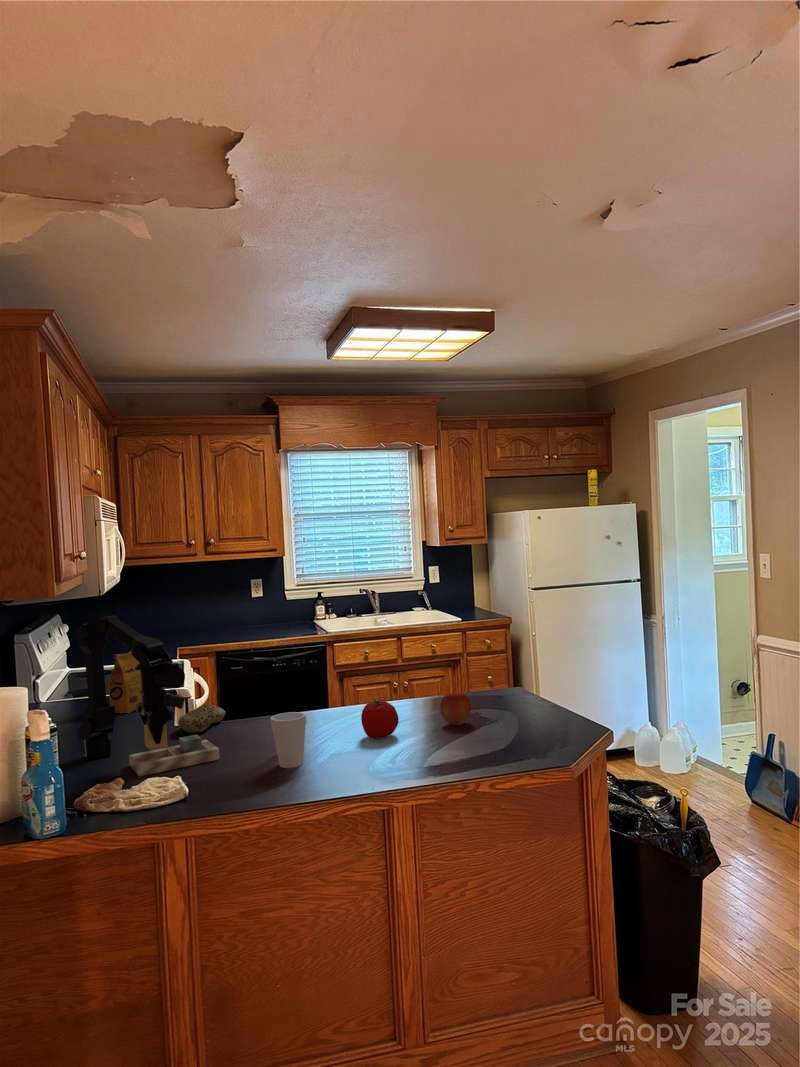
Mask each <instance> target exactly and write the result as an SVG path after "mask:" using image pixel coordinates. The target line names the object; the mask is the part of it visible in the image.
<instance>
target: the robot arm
mask: <svg viewBox="0 0 800 1067" xmlns="http://www.w3.org/2000/svg"><path fill="white" fill-rule="evenodd" d="M108 635H110V636H111V637H113V638H114V639H116V640H117V641H118V642H119V643H122V645H124V646H125V647H127V648H128V649H129V650H130V651H131V654H132V656H133V657H134V658H135V659H136V660H137V661H138V662H139V664H138V665H137V666H136V668H135V670H140V672H141V688H142V690H140V694H141V695H142V702H138V704H137V705H136V711H135V712H136V713H137V714H139V715H138V716H139V719H140V720H141V722H142V724H143V726H144V725H145V724H147V726H148V728H149V730H150V732H151V734H152V737H153V739H154V741H155V743H156V744H160V742H161V737H162V732H163V727H164V725H165V724H166V723H168V722H170V721H173V720H174V713H173V711H171V709H169V708H168V706H169V707H173V708H177V709H181V710H182V709H183V708H184V703H185V700H186V697H185V696H183V695H181V694H178V691H177V690H175V689H179V688H180V687H182V686H183V684H184V682H185V681H186V680H185V679H186V674H185V672H184V670H183V668H181V667H179V663H178V662H174V661H173V660H172V656H170V654H169V652H168V650H167V649H166V647H165V644H164V643H163V642H162V640H160V639H158V638H156V637H155V638H154V637H151V636H146V635H143V634H141V633H140V632H138V631H136V630H135V629H133V628H132V627H131V626H129V625H127V624H126V623H124V622H123V621H122V620H120V618H119V617H118V616H116V615H108V616H102V617H100V618H99V619H97V620H94V621H92V622H90V623H84V624H80V625H79V626H78V627H77V629H76V630H75V637H76V643H77V646H78V648H79V649H80V651H82V652H83V654H84V663H85V664H84V665H85V676H86V689H87V699H88V700H87V701H88V703H87V705H86V707H85V710H84V711H83V722H82V724H81V725H80V727H79V728H78V730H77V731H76V732H77V733H76V734H77V737H78V740H79V739H80V740H83V743H84V756H85V757H86V758H85V757H84V756H83V757H84V758H85V760H86V759H87V760H88V761H92V760H91V759H94V760H98V759H102V758H109V757H111V756H112V755H111V753H112V748H111V744H112V743H111V738H110V737H109V734H113V733H114V728H115V727H114V726H115V723H116V719H117V716H116V713H115V707H114V706H111V705H110V704H109V701H108V700H107V699H108V698H107V690H106V688H107V687H106V679H105V678H106V677H105V676H106V675H105V667H104V666H105V665H104V650H105V647H106V646H107V644H108V637H109V636H108ZM166 688H168V689H169V691H168V692H167V690H166ZM166 725H167V724H166ZM87 760H86V761H87Z"/></svg>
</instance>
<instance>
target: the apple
mask: <svg viewBox="0 0 800 1067" xmlns="http://www.w3.org/2000/svg"><path fill="white" fill-rule="evenodd" d="M439 705H440V706H439V709H440V710H439V711H440V714H441V716H442V719H443V720H444V721H445V722H446V723H448V724H450V725H453V726H462V725H463V724H464V723H466V721H467V720H468V719H469V717H470V715H471V712H472V705H471V701H470V698H469V696H468V695H467V694H466V693H464V692H456V691H454V692H453V693H452V692H450V693H446V694H445V695H443V696H442V697H441V699H440V703H439Z"/></svg>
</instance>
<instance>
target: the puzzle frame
mask: <svg viewBox="0 0 800 1067" xmlns="http://www.w3.org/2000/svg"><path fill="white" fill-rule="evenodd" d="M178 739H179V740H178V742H179V744H177V745H172V746H167V747H162V748H157V749H152V750H147V751H142V752H137V753H132V754H129V755H128V758H129V759H128V760H129V766H130V768H131V769H132V770H133V771H134V772H135V773H136V774H137V776H138V777H143V776H148V775H152V774H157V773H158V774H159V773H161V772H166V771H171V770H176V769H180V768H185V767H190V766H194V765H200V764H204V763H208V762H214V761H218V760H220V759H221V758H220V748H219V747H218V746H216V745H214V744H213V743H212V742H210V741H209V740H207V739H202V737H200V735H198V733H195V734H193V735H192V734H191V735H186V736H182V737H178Z"/></svg>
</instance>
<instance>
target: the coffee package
mask: <svg viewBox="0 0 800 1067" xmlns="http://www.w3.org/2000/svg"><path fill="white" fill-rule="evenodd" d="M113 659H115V663H114V666H113V669H112V671H111V673H110V676H109V678H108V685H107V686H108V698H109V699H108V700H109V701H108V703H109V704H110V705H111V706H114V707H115V714H116V713H120V714H119V715H123V714H122V713H129V714H130V713H132V712H134V711H135V710H136V705H137V704H138V702H142V695H141V694H140V690H142V688H141V672H140V670H135V668H136V666H137V665H138V664H139V662H138V661H137V660H136V659H135V658H134V657H133V656H132V654H131V650H130V651H129V652H126V653H119V654H113ZM135 712H136V711H135Z"/></svg>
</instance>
